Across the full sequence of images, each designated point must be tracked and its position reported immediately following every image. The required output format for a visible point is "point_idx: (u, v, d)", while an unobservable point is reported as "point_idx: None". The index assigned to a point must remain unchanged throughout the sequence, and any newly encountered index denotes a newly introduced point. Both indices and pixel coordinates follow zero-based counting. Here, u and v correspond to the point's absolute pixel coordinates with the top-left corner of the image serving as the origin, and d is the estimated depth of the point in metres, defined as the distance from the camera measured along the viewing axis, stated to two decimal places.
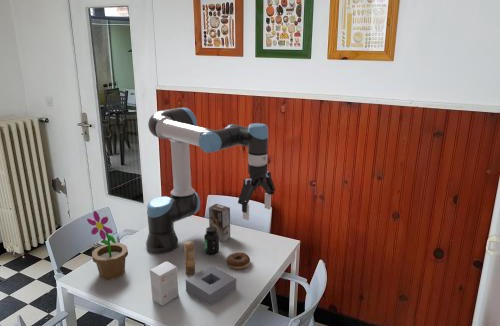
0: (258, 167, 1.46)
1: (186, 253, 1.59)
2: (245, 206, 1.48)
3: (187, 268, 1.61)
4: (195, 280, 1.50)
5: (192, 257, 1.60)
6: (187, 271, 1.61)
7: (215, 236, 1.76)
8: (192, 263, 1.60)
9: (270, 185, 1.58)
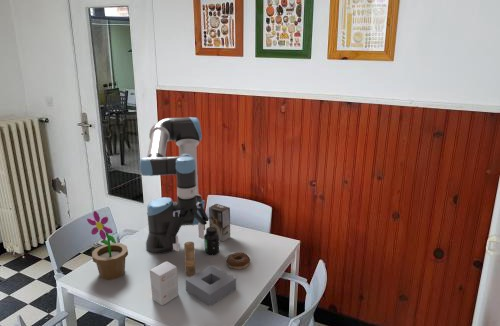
0: (186, 200, 1.50)
1: (186, 253, 1.59)
2: (174, 237, 1.51)
3: (187, 268, 1.61)
4: (195, 280, 1.50)
5: (192, 257, 1.60)
6: (187, 271, 1.61)
7: (215, 236, 1.76)
8: (192, 263, 1.60)
9: (203, 215, 1.61)
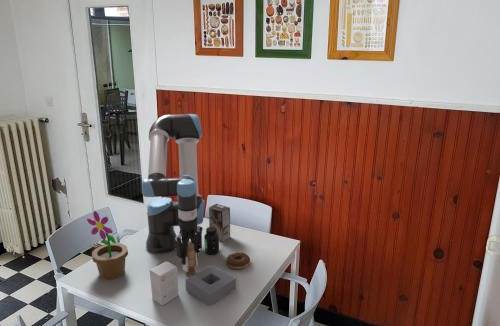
0: (187, 222, 1.53)
1: None
2: (184, 259, 1.58)
3: None
4: (195, 280, 1.50)
5: (192, 257, 1.60)
6: None
7: (215, 236, 1.76)
8: (192, 263, 1.60)
9: (198, 241, 1.63)
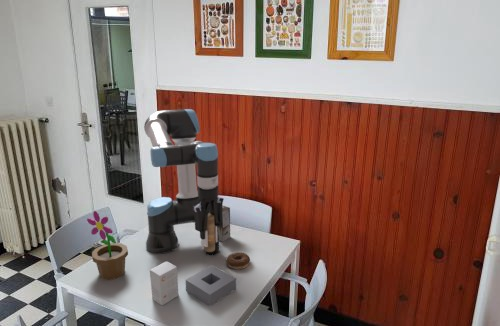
0: (207, 190, 1.36)
1: None
2: (203, 233, 1.42)
3: None
4: (195, 280, 1.50)
5: (212, 231, 1.43)
6: (206, 247, 1.45)
7: None
8: (212, 238, 1.44)
9: (218, 214, 1.46)
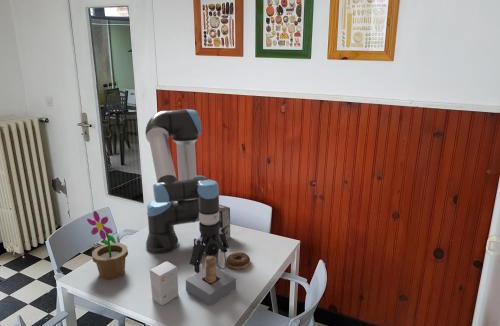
0: (208, 226, 1.41)
1: (207, 269, 1.48)
2: (197, 266, 1.43)
3: None
4: (195, 280, 1.50)
5: (213, 273, 1.49)
6: None
7: None
8: (213, 279, 1.49)
9: (224, 242, 1.52)
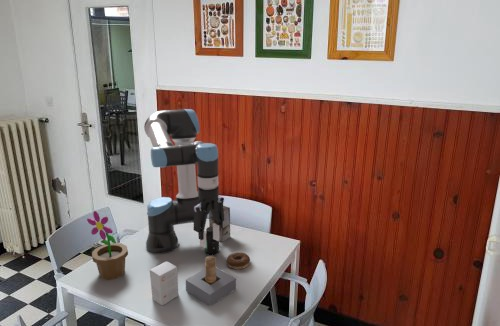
0: (207, 190, 1.36)
1: (207, 269, 1.48)
2: (201, 233, 1.41)
3: None
4: (195, 280, 1.50)
5: (213, 273, 1.49)
6: None
7: None
8: (213, 279, 1.49)
9: (220, 213, 1.47)
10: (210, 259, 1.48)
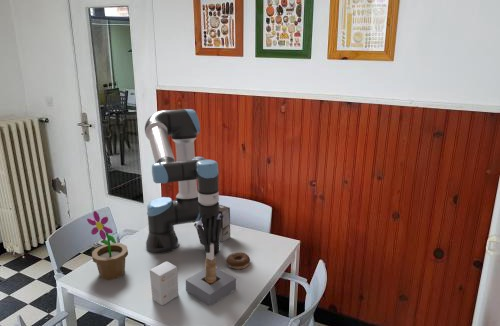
0: (208, 206, 1.38)
1: (207, 269, 1.48)
2: (208, 246, 1.45)
3: None
4: (195, 280, 1.50)
5: (214, 273, 1.49)
6: None
7: None
8: (213, 280, 1.49)
9: (216, 231, 1.47)
10: None
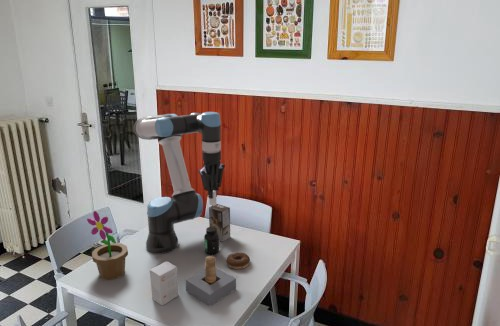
0: (211, 154, 1.52)
1: (207, 269, 1.48)
2: (211, 192, 1.59)
3: None
4: (195, 280, 1.50)
5: (213, 273, 1.49)
6: None
7: (215, 236, 1.76)
8: (213, 279, 1.49)
9: (218, 179, 1.61)
10: (210, 259, 1.48)
